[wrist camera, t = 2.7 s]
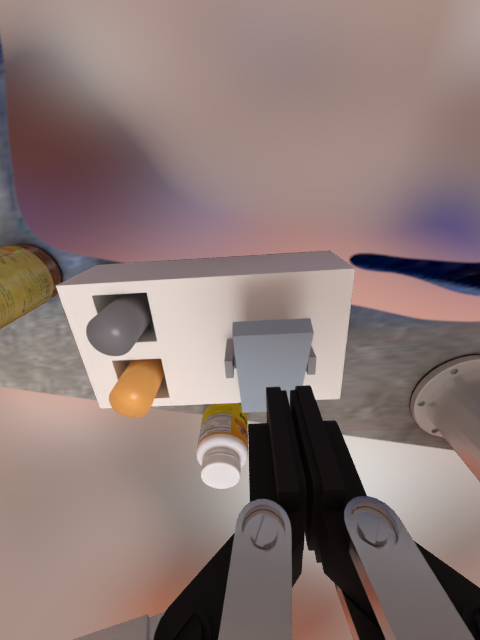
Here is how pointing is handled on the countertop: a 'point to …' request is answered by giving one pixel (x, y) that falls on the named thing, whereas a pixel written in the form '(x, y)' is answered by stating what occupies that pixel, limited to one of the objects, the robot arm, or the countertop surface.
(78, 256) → the countertop surface
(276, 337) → the rocker
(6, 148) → the countertop surface
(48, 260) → the sauce bottle
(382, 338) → the countertop surface
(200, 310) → the panel
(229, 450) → the supplement bottle
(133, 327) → the button charcoal
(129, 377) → the button orange
